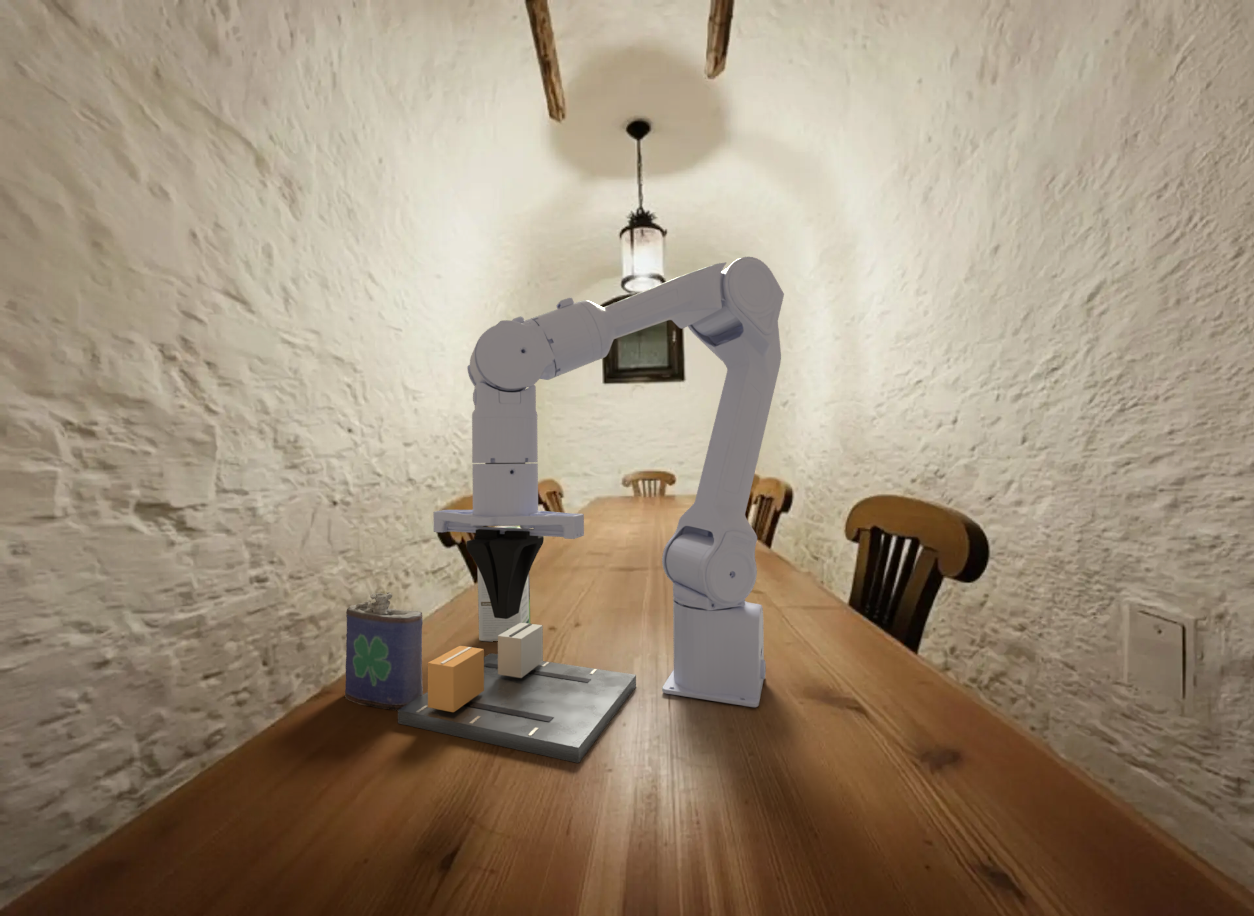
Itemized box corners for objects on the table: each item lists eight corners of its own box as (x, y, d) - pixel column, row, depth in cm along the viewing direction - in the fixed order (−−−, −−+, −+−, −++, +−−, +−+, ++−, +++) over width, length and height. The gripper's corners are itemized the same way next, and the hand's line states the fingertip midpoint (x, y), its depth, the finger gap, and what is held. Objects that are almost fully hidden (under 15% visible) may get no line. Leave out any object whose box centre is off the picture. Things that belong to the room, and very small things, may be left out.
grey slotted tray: (636, 686, 52) (635, 674, 52) (578, 763, 39) (578, 747, 39) (490, 663, 58) (490, 652, 58) (397, 723, 45) (397, 709, 45)
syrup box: (521, 642, 65) (520, 531, 65) (476, 642, 65) (476, 531, 65) (530, 627, 71) (530, 525, 71) (489, 627, 71) (489, 525, 71)
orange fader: (483, 690, 48) (483, 648, 48) (453, 712, 44) (453, 665, 44) (459, 686, 49) (459, 644, 49) (427, 707, 45) (427, 661, 45)
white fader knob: (542, 661, 55) (542, 624, 55) (521, 678, 51) (521, 637, 51) (520, 658, 56) (520, 621, 56) (497, 674, 52) (497, 634, 52)
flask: (428, 701, 49) (427, 593, 49) (405, 716, 46) (404, 601, 46) (360, 686, 52) (359, 585, 52) (335, 699, 50) (334, 592, 50)
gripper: (408, 464, 43) (409, 620, 43) (556, 463, 38) (557, 639, 38) (461, 463, 50) (461, 599, 50) (593, 463, 45) (594, 612, 45)
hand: (506, 615), depth 44 cm, fingers closed
